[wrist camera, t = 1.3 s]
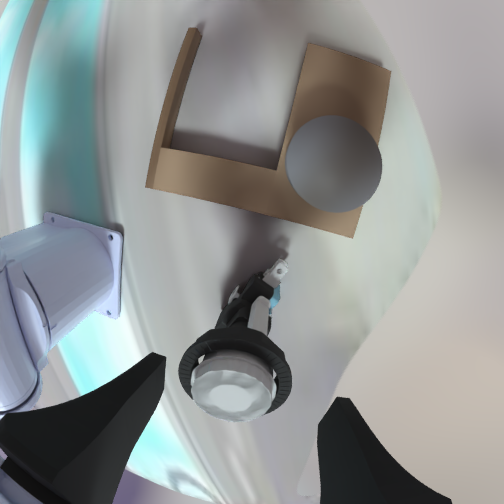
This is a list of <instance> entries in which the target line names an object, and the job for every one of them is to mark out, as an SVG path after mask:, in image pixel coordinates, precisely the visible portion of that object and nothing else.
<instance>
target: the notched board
mask: <svg viewBox="0 0 504 504" xmlns="http://www.w3.org/2000/svg"><path fill="white" fill-rule="evenodd" d="M201 38H202V35H201V34H200V32H199V30H198V29H197V28H188V31H187V34H186V36H185V39H184V41H183V44H182V47H181V50H180V53H179V55H178V58H177V61H176V64H175V67H174V70H173V73H172V77H171V80H170V83H169V86H168V90H167V93H166V97H165V100H164V104H163V107H162V111H161V115H160V119H159V123H158V127H157V131H156V135H155V140H154V144H153V149H152V154H151V159H150V164H149V169H148V174H147V180H146V186H145V187H146V188H151V189H156V190H161V191H166V192H170V193H175V194H180V195H184V196H189V197H193V198H198V199H202V200H206V201H211V202H215V203H219V204H224V205H228V206H232V207H236V208H240V209H244V210H249V211H253V212H257V213H261V214H264V215H268V216H272V217H276V218H280V219H284V220H288V221H291V222H295V223H299V224H303V225H306V226H310V227H314V228H317V229H321V230H324V231H328V232H332V233H335V234H339V235H342V236H345V237H349V238H352V239H353V236H354V233H355V230H356V227H357V224H358V220H359V217H360V214H361V210H362V207H363V204H365V203H366V202H367V201H368V200H369V199H370V198H371V197H372V195H373V194H374V193H375V191H376V189H377V187H378V185H379V182H380V179H381V174H382V159H381V154H380V151H379V148H378V143H379V138H380V134H381V129H382V124H383V119H384V113H385V108H386V102H387V96H388V89H389V83H390V76H391V71H389V70H387V69H385V68H382V67H380V66H377V65H375V64H372V63H370V62H367V61H365V60H362V59H359V58H356V57H354V56H351V55H348V54H345V53H342V52H339V51H336V50H332V49H329V48H325V47H322V46H318V45H315V44H311V43H308V46H307V50H306V54H305V58H304V62H303V66H302V70H301V74H300V78H299V82H298V86H297V90H296V94H295V98H294V103H293V107H292V111H291V115H290V119H289V123H288V127H287V131H286V135H285V139H284V143H283V147H282V151H281V155H280V159H279V163H278V167H277V171H276V170H272V169H268V168H264V167H259V166H255V165H251V164H246V163H242V162H237V161H233V160H228V159H223V158H218V157H213V156H208V155H203V154H197V153H192V152H186V151H180V150H174V149H170V144H171V140H172V136H173V132H174V127H175V123H176V119H177V116H178V112H179V108H180V104H181V101H182V97H183V94H184V90H185V87H186V83H187V80H188V77H189V74H190V70H191V67H192V64H193V61H194V58H195V55H196V52H197V49H198V47H199V44H200V41H201Z"/></svg>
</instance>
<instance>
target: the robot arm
mask: <svg viewBox="0 0 504 504" xmlns="http://www.w3.org/2000/svg"><path fill="white" fill-rule="evenodd" d="M54 220H55V221H54ZM110 235H112V236H113V239H111V236H110ZM122 243H123V236H122V234H121V233H120V232H118V231H114V230H110V229H107V228H103V227H100V226H96V225H93V224H89V223H86V222H82V221H79V220H75V219H72V218H68V217H65V216H61V215H58V214H54V213H51V212H46V213H44V217H43V223H42V224H39V225H36V226H33V227H30V228H27V229H24V230H21V231H18V232H15V233H12V234H10V235H7V236H4V237H2V238H0V448H1V449H2V450H3V452H5V454H6V455H7V456H8V457H7V458H6V460H4V459H3V458H2V457H1V456H0V504H112V503H113V499H114V496H115V494H116V491H117V488H118V484H119V482H120V479H121V477H122V474H123V471H124V469H125V466H126V464H127V462H128V459H129V457H130V454H131V452H132V450H133V448H134V446H135V444H136V442H137V441H138V439H139V437H140V436H141V434H142V432H143V430H144V429H145V427H146V425H147V423H148V422H149V420H150V418H151V416H152V415H153V413H154V411H155V409H156V407H157V405H158V403H159V400H160V398H161V395H162V393H163V390H164V382H165V367H166V357H165V356H162V355H159V354H156V353H154V352H152V353H150V354H148V355H147V356H146V357H145V358H143V359H142V360H141V361H139V362H138V363H137V364H135V365H134V366H133V367H131V368H130V369H128V370H127V371H125V372H124V373H122V374H121V375H119V376H118V377H116V378H115V379H113V380H112V381H110V382H108V383H106V384H105V385H103V386H101V387H99V388H97V389H96V390H94V391H92V392H89V393H87V394H85V395H83V396H81V397H78V398H76V399H73V400H70V401H67V402H65V403H62V404H58V405H55V406H51V407H46V408H42V409H37V410H32V411H30V410H31V409H32V408H33V406H34V405H35V404H36V403H37V401H38V399H39V397H40V395H41V392H42V384H43V383H42V377H41V374H40V371H41V370H42V369H43V368H44V367H45V366H46V365H47V364H48V359H47V352H49V351H50V350H51V349H52V348H53V347H54V346H55V345H56V344H57V343H58V342H59V341H61V340H62V339H63V338H64V337H65V336H66V335H67V334H68V333H69V332H71V331H72V330H73V329H74V328H75V327H76V326H77V325H78V324H80V323H81V322H82V321H83V320H84V319H85V318H86V317H88V316H89V315H90V314H91V313H92V312H93V311H96V312H98V313H100V314H103V315H105V316H108V317H110V318H113V319H117V318H118V317H119V316H120V276H121V257H122ZM109 311H110V312H111V313H110V312H109ZM317 447H318V458H319V470H320V482H321V497H320V504H452V501H451V499H450V498H447V497H445V496H443V495H441V494H439V493H437V492H435V491H434V490H432V489H430V488H428V487H427V486H425V485H424V484H423V483H421V482H420V481H418V480H417V479H416V478H415V477H413V476H412V475H411V474H410V473H408V472H407V471H406V470H405V469H404V468H403V467H402V466H401V465H400V464H399V463H398V462H397V461H396V460H395V459H394V458H393V457H392V456H391V455H390V454H389V453H388V452H387V451H386V449H385V448H384V447H383V445H382V444H381V443H380V441H379V440H378V439H377V438H376V436H375V435H374V433H373V432H372V431H371V429H370V428H369V426H368V425H367V423H366V422H365V421H364V419H363V418H362V416H361V415H360V413H359V411H358V410H357V408H356V407H355V406H354V404H353V403H352V401H351V400H350V398H342V397H336V399H335V400H334V402H333V403H332V405H331V407H330V408H329V409H328V411H327V412H326V414H325V415H324V417H323V418H322V420H321V421H320V423H319V424H318V436H317Z"/></svg>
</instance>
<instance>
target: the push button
mask: <svg viewBox="0 0 504 504" xmlns="http://www.w3.org/2000/svg"><path fill="white" fill-rule="evenodd" d="M287 266H288V263H286V262H285V261H283V260H282V259H281V258H279V259H278V260H277V261H276V263H275V264H274V265H273V266H272V268H271V269H267V270H266V272H265V273H264V274H263V273H262V272H259V273H258V275H257V274H254V275H253V276H252V277H251V279H250V280H249V282H248V284H247V285H246V287H245V289H244V291H243V292H242V294H241V295H240V294H239V293H238V292H237V291H238V289H239V286H240V285H238V286H237V287H236V288H235V290H234V291H233V292H232V294H231V295H230V298H229V302H228V304H229V305H226V306H225V308H224V309H223V310H222V312H221V313H220V316H219V319H218V321H217V324H216V326H215V329H211V330H209V331H207V332H206V333H205V334H203V335H202V336H201V337H199V338H198V339H197V340H196V342H195V343H194V344H192V345H191V346H190V347H189V348H188V349H187V350H186V352H185V353H184V355H183V357H182V359H181V361H180V364H179V370H178V372H179V379H180V382H181V385H182V387H183V388H184V390H185V391H186V393H187V394H188V395H189V396H190V397H191V398H192V399H193V400H194V402H195V403H196V405H197V406H199V407H200V408H201V409H202V410H203V411H204V412H206V413H207V414H209V415H210V416H213V417H215V418H217V419H221V420H225V421H228V422H248V421H251V420H254V419H256V418H258V417H261V416H263V415H265V414H267V413H270V412H272V411H274V410H275V409H277V408H278V407H280V406H281V405H282V404H283V403H284V402H285V401H286V399H287V398H288V396H289V394H290V392H291V388H292V375H291V370H290V367H289V365H288V363H287V362H286V360H285V355H284V352H283V351H282V350H281V349H280V348H279V347H278V346H277V345H276V344H274V343H273V342H272V341H271V340H270V339H269V338H268V337H267V336H268V334H269V332H270V329H271V318H272V317H271V314H272V308H273V307H275V306H276V304H277V303H278V302H279V300H280V285H279V284H280V283H281V282H280V280H281V278H282V277H283V276H284V275H285V274H286V272H287V271H288V268H287ZM204 354H205V356H204V359H203V361H202V362H201V363H200V364H199V362H198V358H200V357H201V356H203V355H204ZM273 369H274V371H275V372H276V374H277V376H276V377H275V379H274V380H273Z"/></svg>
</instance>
